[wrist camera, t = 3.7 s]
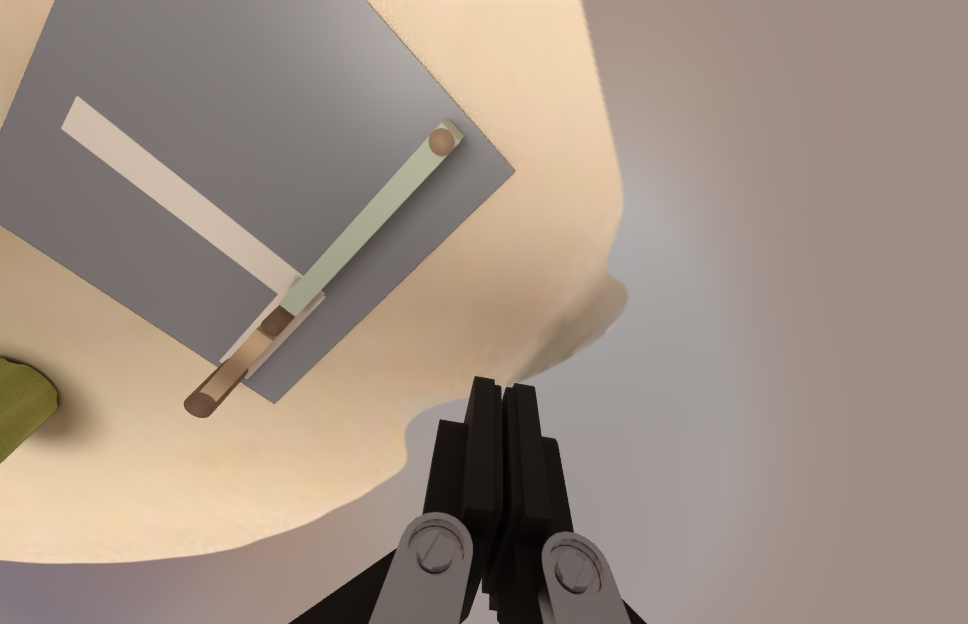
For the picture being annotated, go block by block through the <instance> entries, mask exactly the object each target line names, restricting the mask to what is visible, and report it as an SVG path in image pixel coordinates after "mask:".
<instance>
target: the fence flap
mask: <svg viewBox="0 0 968 624" xmlns="http://www.w3.org/2000/svg"><path fill="white" fill-rule="evenodd" d="M463 137H464V135H463V134H462V133H461V132H460V131H459V130H458V128H457V127H456V126H455V125H454V124H453V123H452V122H451V121H450V120H449V119H447V120H445V121H443V122H441V123H440V125H439V126H438V127H437V128H436V129H435V130H434V131H433V132H432V133H431V134H430V136H429V137H428V138H427V139H426V140H425V141H424V142H423V144H422V145H421V146H420V147H419V148H418V149H417V150H416V151H415V152H414V154H413V155H412V156H411V157H410V158H409V159H408V160H407V161H406V162H405V164H404V165H403V166H402V167H401V168H400V169H399V170H398V171H397V173H396V174H395V175H394V176H393V177H392V178H391V179H390V180H389V181H388V183H387V184H386V185H385V186H384V187H383V188H382V189H381V190H380V191H379V193H378V194H377V195H376V196H375V197H374V198H373V199H372V200H371V201H370V203H369V204H368V205H367V206H366V207H365V208H364V209H363V210H362V212H361V213H360V214H359V215H358V216H357V217H356V218H355V219H354V220H353V222H352V223H351V224H350V225H349V226H348V227H347V228H346V229H345V230H344V232H343V233H342V234H341V235H340V236H339V237H338V238H337V239H336V240H335V242H334V243H333V244H332V245H331V246H330V247H329V248H328V249H327V251H326V252H325V253H324V254H323V255H322V256H321V257H320V258H319V259H318V261H317V262H316V263H315V264H314V265H313V266H312V267H311V268H310V269H309V271H308V272H307V273H306V274H305V275H304V276H303V277H302V278H301V279H300V281H299V282H298V283H297V284H296V285H295V286H294V287H293V288H292V290H291V291H290V292H289V293H288V294H287V295H286V296H285V297H284V298H283V300H282V301H281V302H280V303H279V305H280V306H282V307H283V308H284V309H286V310H287V311H288V312H290V313H291V314H292V315H294V316H295V317H296V316H297V315H298V314H299V313H300V312H301V311H302V310H303V309H304V308H305V307H306V306H307V305H308V303H309V302H310V301H311V300H312V299H313V298H314V297H315V296H316V295H317V294H318V293H319V292H320V291H321V290H322V289H323V287H324V286H325V285H326V284H327V283H328V282H329V281H330V280H331V279H332V278H333V277H334V276H335V275H336V274H337V273H338V271H339V270H340V269H341V268H342V267H343V266H344V265H345V264H346V263H347V262H348V261H349V260H350V259H351V258H352V257H353V255H354V254H355V253H356V252H357V251H358V250H359V249H360V248H361V247H362V246H363V245H364V244H365V243H366V242H367V241H368V239H369V238H370V237H371V236H372V235H373V234H374V233H375V232H376V231H377V230H378V229H379V228H380V227H381V226H382V225H383V223H384V222H385V221H386V220H387V219H388V218H389V217H390V216H391V215H392V214H393V213H394V212H395V211H396V210H397V209H398V207H399V206H400V205H401V204H402V203H403V202H404V201H405V200H406V199H407V198H408V197H409V196H410V195H411V194H412V193H413V191H414V190H415V189H416V188H417V187H418V186H419V185H420V184H421V183H422V182H423V181H424V180H425V179H426V178H427V177H428V175H429V174H430V173H431V172H432V171H433V170H434V169H435V168H436V167H437V166H438V165H439V164H440V163H441V162H442V161H443V160H444V158H445V157H446V156H447V155H448V154H449V153H450V152H451V151H452V150H453V149H454V148H455V147H456V146H457V145H458V144H459V142H460V141H461V140H462V138H463Z"/></svg>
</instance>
